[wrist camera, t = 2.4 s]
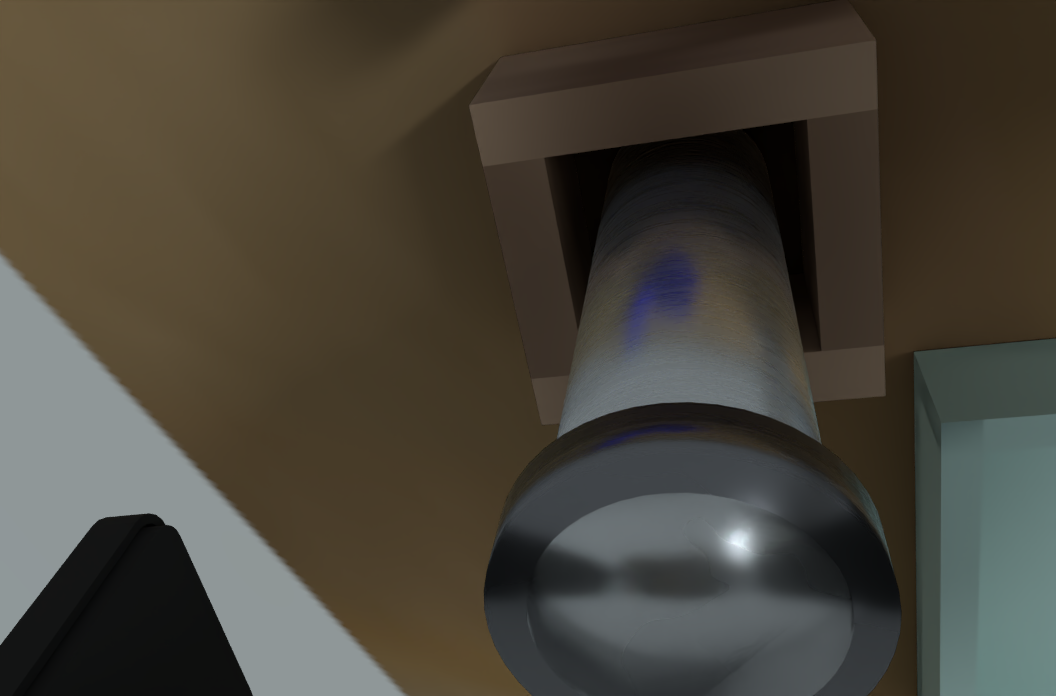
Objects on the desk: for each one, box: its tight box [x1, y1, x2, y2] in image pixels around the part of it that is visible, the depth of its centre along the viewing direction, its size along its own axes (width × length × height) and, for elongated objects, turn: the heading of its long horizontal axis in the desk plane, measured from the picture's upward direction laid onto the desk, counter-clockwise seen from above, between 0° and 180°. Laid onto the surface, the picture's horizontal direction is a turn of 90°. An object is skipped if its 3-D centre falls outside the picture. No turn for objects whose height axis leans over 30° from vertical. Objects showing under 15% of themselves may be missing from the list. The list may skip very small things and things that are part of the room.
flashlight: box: [484, 129, 901, 696], centre depth 14 cm, size 4×4×11 cm
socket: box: [469, 0, 886, 425], centre depth 17 cm, size 6×6×3 cm
